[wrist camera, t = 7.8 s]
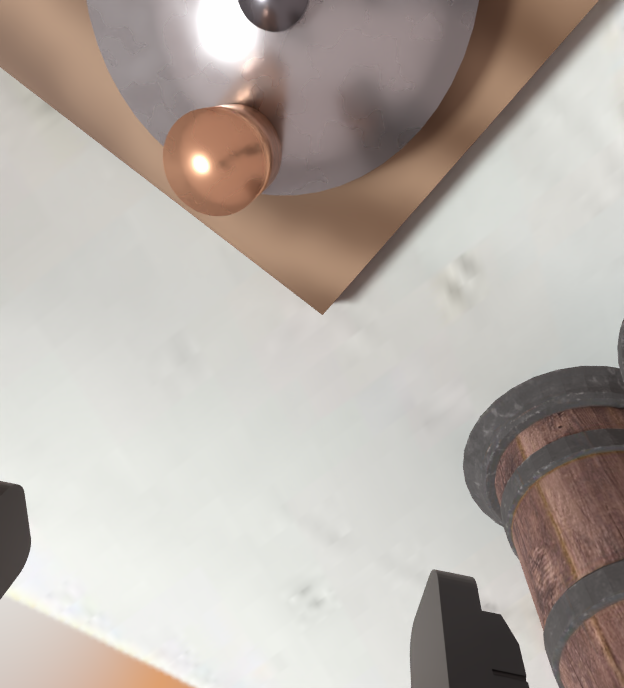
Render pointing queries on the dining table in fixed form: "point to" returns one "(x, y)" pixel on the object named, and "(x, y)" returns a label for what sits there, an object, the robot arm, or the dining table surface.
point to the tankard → (562, 509)
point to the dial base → (313, 208)
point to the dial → (279, 86)
